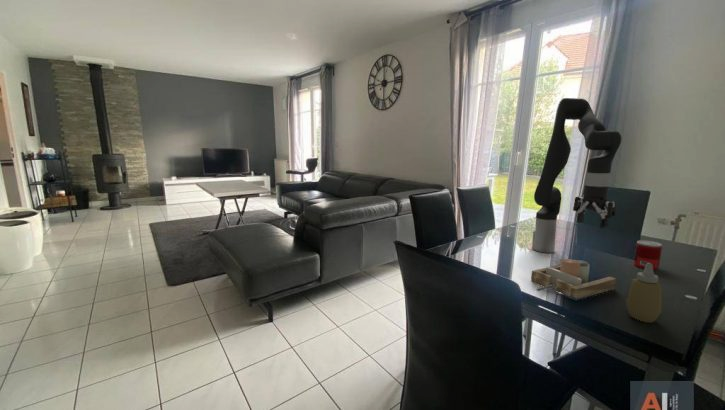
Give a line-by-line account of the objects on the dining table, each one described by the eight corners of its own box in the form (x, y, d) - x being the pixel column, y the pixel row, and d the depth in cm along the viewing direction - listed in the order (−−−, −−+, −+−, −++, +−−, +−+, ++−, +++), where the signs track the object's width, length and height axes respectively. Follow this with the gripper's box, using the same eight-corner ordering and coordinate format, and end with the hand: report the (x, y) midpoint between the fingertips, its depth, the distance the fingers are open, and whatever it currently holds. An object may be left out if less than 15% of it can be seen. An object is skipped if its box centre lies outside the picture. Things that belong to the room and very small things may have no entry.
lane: (531, 281, 121) (531, 269, 120) (567, 272, 128) (568, 261, 127) (575, 301, 105) (577, 288, 104) (614, 289, 112) (616, 277, 111)
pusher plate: (522, 286, 117) (523, 272, 115) (547, 280, 121) (548, 266, 120) (554, 301, 105) (555, 285, 103) (580, 294, 109) (581, 279, 108)
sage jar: (567, 281, 120) (569, 260, 118) (576, 279, 122) (578, 258, 120) (581, 287, 115) (583, 265, 113) (591, 284, 116) (593, 263, 115)
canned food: (663, 270, 126) (667, 246, 124) (641, 269, 128) (644, 245, 126) (650, 264, 134) (653, 240, 132) (629, 263, 135) (632, 240, 133)
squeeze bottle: (617, 312, 97) (624, 259, 94) (640, 310, 98) (648, 258, 95) (642, 326, 89) (651, 269, 86) (667, 324, 90) (676, 268, 87)
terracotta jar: (555, 284, 118) (557, 260, 116) (565, 281, 120) (567, 257, 118) (571, 290, 112) (573, 265, 111) (581, 287, 115) (583, 262, 113)
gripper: (624, 186, 109) (617, 228, 112) (585, 181, 122) (580, 219, 126) (610, 187, 107) (603, 230, 110) (571, 182, 120) (567, 221, 123)
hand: (591, 224), depth 118 cm, fingers open, 8 cm apart
